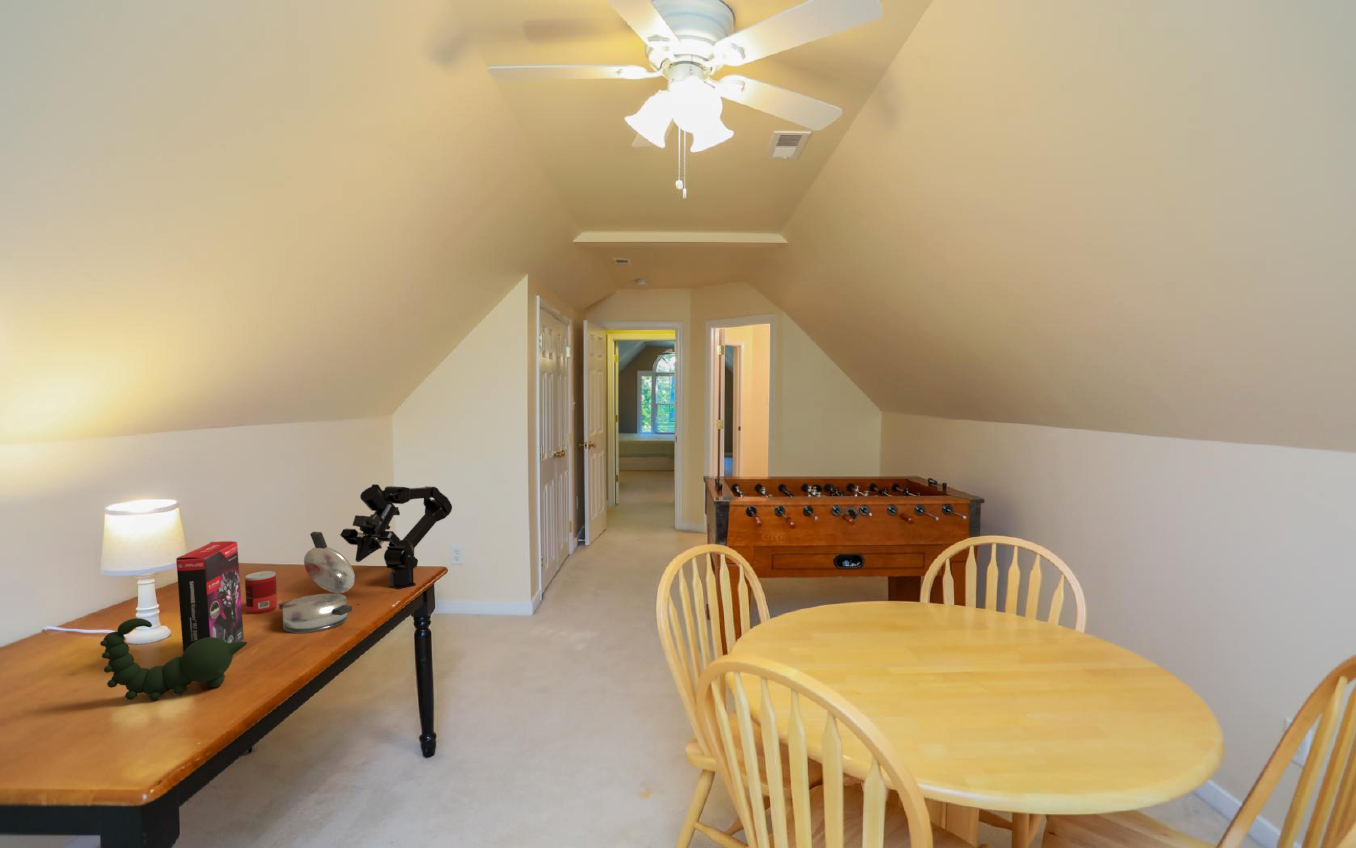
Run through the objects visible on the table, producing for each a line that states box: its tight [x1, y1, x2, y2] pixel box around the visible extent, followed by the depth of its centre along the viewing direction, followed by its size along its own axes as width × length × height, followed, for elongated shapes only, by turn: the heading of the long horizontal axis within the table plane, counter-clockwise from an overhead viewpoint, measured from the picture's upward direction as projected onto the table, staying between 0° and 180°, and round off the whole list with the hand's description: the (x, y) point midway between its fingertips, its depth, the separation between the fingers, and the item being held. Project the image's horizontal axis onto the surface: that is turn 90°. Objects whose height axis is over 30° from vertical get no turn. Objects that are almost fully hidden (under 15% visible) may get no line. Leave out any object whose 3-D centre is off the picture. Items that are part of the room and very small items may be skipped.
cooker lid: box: [303, 531, 356, 594], centre depth 190 cm, size 21×16×3 cm
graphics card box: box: [175, 540, 245, 654], centre depth 163 cm, size 17×7×27 cm, turn 12°
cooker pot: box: [278, 593, 353, 634], centre depth 186 cm, size 16×22×6 cm
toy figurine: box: [99, 617, 248, 702], centre depth 143 cm, size 9×19×25 cm
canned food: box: [244, 570, 278, 615], centre depth 197 cm, size 8×8×11 cm
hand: (357, 561), depth 201 cm, fingers closed
